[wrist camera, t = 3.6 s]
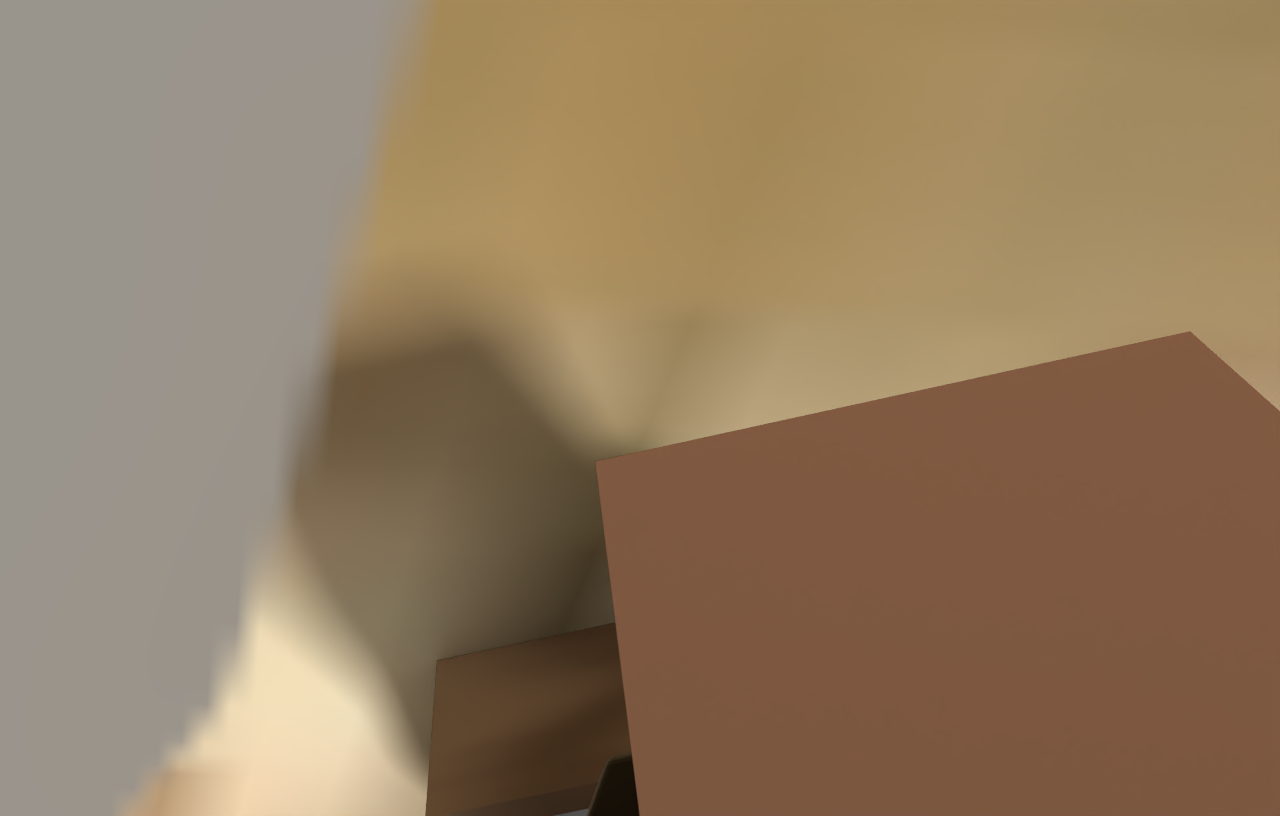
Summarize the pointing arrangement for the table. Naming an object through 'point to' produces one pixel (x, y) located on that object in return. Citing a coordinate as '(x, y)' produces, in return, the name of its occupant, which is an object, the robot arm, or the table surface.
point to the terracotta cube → (962, 600)
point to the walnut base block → (527, 726)
